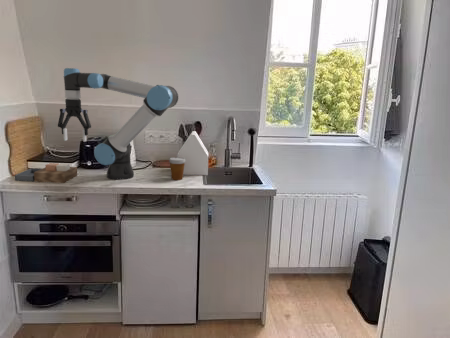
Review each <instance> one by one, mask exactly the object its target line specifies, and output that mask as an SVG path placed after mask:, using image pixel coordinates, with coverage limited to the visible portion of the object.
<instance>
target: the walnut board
mask: <svg viewBox="0 0 450 338" xmlns="http://www.w3.org/2000/svg"><path fill="white" fill-rule="evenodd" d="M40 169H41V170H38V171H36V172H34V180H35V181H34V182H36V183H37V182H39V183H56V184H57V183H58V184H59V183H60V184H66V183H67V182H68V181H71V180H72V179H74V178H76V177H77V176H78V167H77V166H70V170H68V171H57V170H56V171H49V170H46V166H45V167H43V168H40Z"/></svg>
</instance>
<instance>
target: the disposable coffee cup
mask: <svg viewBox="0 0 450 338" xmlns="http://www.w3.org/2000/svg"><path fill="white" fill-rule="evenodd" d="M168 162H169V166H170V167H169V168H170V175H171V176H170V177H171V180H173V181H181V180H183V177H184V174H183V172H184V165H185V162H186V161H185V159H184V158H181V157H177V156H176V157H174V156H173V157H170V158H169V161H168Z"/></svg>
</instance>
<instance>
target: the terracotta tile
mask: <svg viewBox="0 0 450 338" xmlns="http://www.w3.org/2000/svg"><path fill="white" fill-rule="evenodd" d="M59 164H60V163H59V162H57V163H55V162H49V163H47V164H45V167H46V170H49V171H56V170H57V167H56V165H59Z"/></svg>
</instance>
